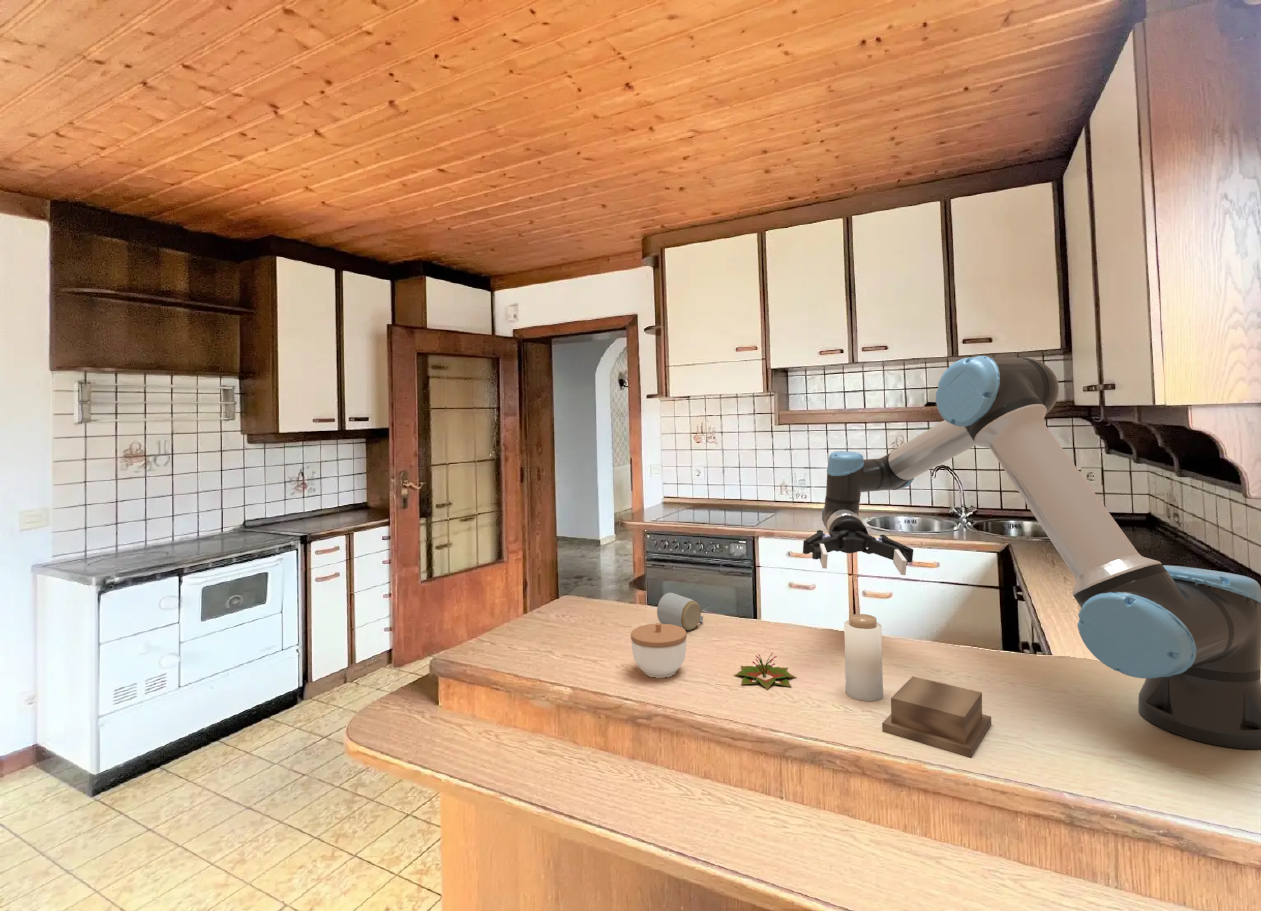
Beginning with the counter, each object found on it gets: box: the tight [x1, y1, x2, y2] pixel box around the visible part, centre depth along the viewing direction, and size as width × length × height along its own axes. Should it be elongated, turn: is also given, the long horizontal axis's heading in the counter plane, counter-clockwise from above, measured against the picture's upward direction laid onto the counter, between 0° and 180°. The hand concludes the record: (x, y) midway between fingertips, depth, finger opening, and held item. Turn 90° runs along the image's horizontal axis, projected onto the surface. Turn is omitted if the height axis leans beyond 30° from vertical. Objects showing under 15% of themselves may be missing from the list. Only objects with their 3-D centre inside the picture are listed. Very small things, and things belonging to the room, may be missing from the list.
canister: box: [843, 613, 884, 702], centre depth 105 cm, size 6×6×13 cm
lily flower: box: [734, 652, 798, 690], centre depth 113 cm, size 12×12×5 cm
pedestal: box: [881, 676, 992, 758], centre depth 92 cm, size 12×12×5 cm
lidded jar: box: [630, 622, 688, 679], centre depth 117 cm, size 11×11×9 cm
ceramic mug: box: [656, 592, 704, 632], centre depth 144 cm, size 11×8×8 cm
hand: (864, 564), depth 111 cm, fingers open, 13 cm apart
